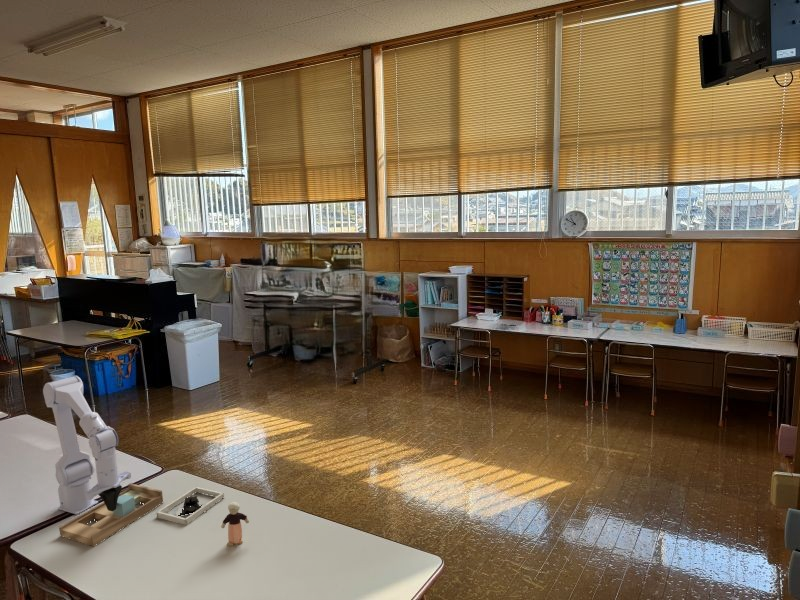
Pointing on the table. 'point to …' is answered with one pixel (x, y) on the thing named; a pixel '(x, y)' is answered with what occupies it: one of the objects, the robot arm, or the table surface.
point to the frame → (190, 518)
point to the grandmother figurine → (234, 524)
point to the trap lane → (110, 517)
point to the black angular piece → (190, 502)
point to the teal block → (124, 505)
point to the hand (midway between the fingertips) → (111, 509)
